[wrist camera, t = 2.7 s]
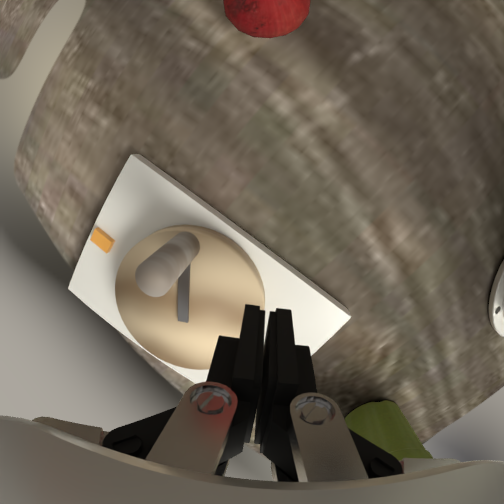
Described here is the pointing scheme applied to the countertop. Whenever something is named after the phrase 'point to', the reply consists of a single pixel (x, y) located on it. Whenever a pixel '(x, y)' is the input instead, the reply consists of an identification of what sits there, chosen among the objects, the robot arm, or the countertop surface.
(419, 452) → the plant pot
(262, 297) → the capstan dial
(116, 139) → the countertop surface
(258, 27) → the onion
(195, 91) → the countertop surface
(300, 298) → the stand
